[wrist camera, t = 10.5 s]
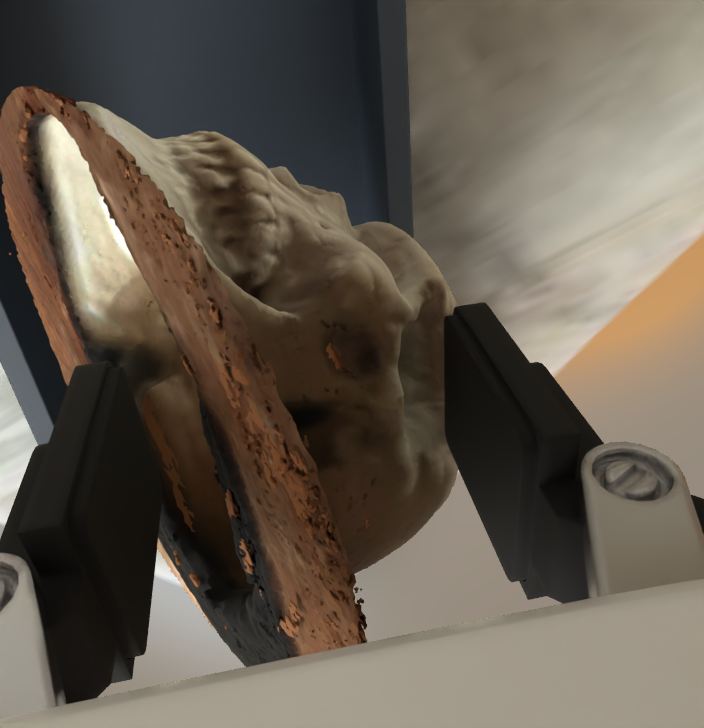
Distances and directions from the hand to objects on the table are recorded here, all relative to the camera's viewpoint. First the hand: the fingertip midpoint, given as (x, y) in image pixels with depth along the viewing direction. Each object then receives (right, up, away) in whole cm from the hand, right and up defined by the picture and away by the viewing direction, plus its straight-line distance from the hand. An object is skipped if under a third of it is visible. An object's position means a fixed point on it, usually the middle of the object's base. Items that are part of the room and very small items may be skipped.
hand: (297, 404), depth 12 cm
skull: (-3, -2, -4) cm, 5 cm away
